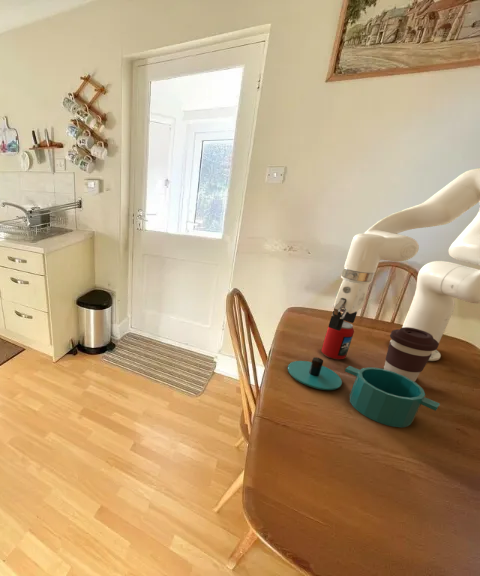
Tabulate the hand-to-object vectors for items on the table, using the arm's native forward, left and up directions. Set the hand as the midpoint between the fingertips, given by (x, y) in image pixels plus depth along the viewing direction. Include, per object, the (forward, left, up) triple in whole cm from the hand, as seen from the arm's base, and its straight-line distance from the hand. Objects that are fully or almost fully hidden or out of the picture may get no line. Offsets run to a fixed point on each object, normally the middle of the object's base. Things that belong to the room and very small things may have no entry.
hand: (341, 324), depth 101 cm
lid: (+18, +2, -11) cm, 21 cm away
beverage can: (0, 0, -12) cm, 12 cm away
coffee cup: (-4, +16, -12) cm, 21 cm away
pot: (+18, +18, -12) cm, 28 cm away
